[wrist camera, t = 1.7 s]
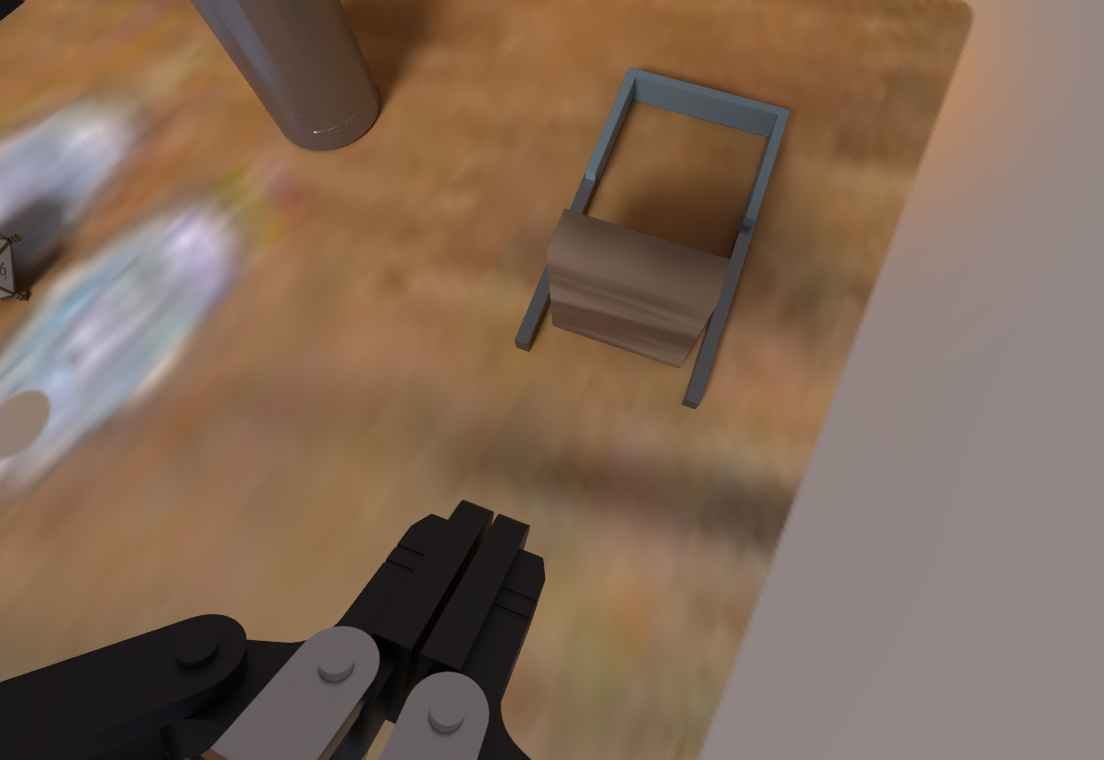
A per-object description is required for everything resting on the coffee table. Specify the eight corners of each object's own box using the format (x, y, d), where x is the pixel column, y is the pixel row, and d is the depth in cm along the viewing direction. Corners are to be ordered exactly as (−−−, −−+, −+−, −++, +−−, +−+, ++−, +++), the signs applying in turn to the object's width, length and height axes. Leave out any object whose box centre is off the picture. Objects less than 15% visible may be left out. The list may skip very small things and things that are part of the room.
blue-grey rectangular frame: (746, 238, 44) (755, 220, 42) (585, 189, 46) (585, 170, 44) (779, 132, 47) (790, 109, 45) (626, 90, 49) (629, 67, 46)
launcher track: (695, 409, 40) (699, 403, 39) (516, 347, 42) (514, 340, 41) (752, 227, 45) (758, 216, 43) (587, 178, 46) (587, 166, 45)
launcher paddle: (679, 368, 41) (716, 306, 30) (552, 325, 42) (546, 251, 32) (691, 332, 42) (731, 259, 31) (566, 291, 43) (564, 208, 33)
